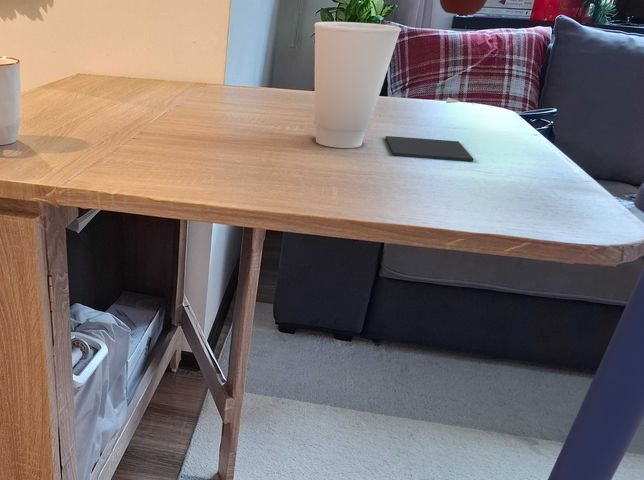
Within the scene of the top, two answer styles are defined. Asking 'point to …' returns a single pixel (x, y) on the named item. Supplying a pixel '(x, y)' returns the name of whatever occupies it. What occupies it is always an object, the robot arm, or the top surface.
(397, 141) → the coaster
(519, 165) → the top surface
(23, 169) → the top surface
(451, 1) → the cocoa
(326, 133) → the cup
